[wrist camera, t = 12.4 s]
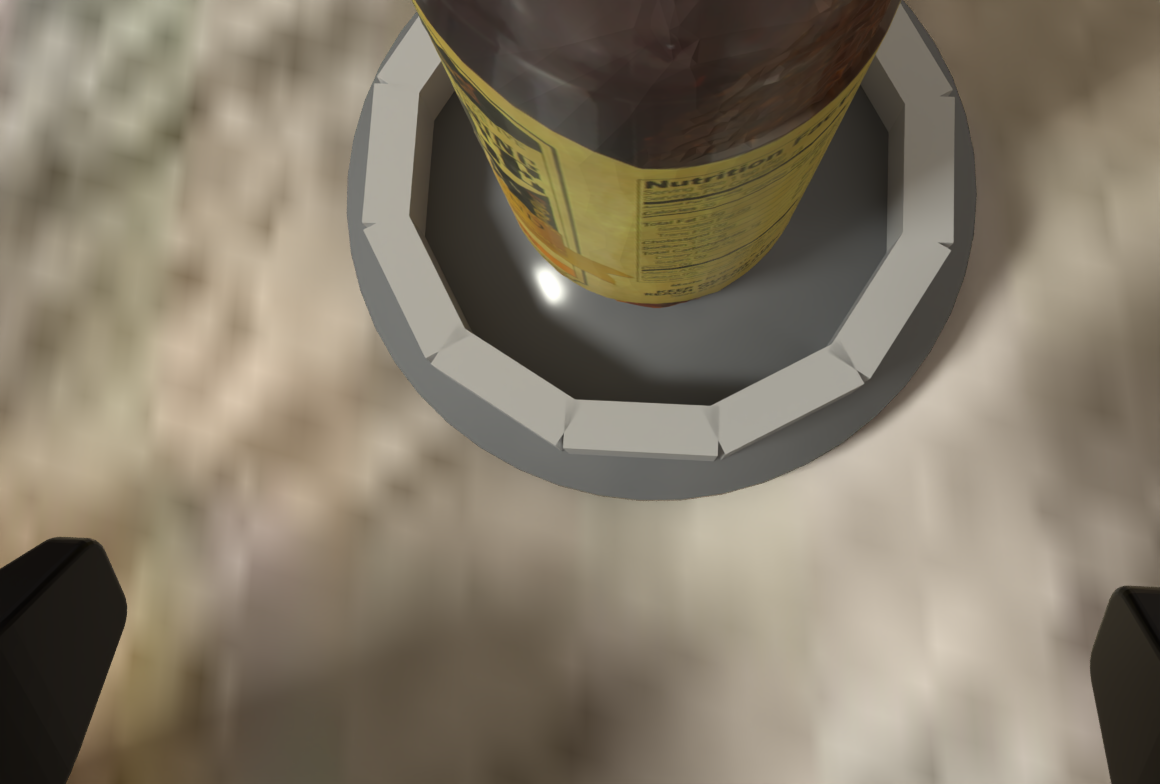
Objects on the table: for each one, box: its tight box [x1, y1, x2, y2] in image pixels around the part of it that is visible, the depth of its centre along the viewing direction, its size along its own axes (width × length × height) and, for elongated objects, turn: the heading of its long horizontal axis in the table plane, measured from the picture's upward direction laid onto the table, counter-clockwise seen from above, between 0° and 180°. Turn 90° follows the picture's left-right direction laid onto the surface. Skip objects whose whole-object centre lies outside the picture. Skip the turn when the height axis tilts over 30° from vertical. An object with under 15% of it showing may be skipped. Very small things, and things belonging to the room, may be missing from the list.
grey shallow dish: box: [347, 0, 977, 501], centre depth 22 cm, size 14×14×2 cm
